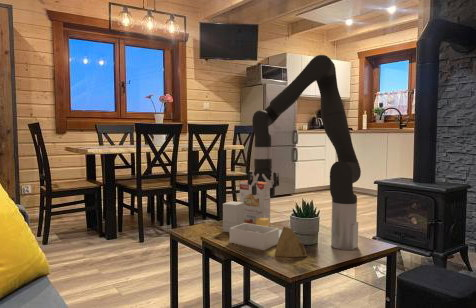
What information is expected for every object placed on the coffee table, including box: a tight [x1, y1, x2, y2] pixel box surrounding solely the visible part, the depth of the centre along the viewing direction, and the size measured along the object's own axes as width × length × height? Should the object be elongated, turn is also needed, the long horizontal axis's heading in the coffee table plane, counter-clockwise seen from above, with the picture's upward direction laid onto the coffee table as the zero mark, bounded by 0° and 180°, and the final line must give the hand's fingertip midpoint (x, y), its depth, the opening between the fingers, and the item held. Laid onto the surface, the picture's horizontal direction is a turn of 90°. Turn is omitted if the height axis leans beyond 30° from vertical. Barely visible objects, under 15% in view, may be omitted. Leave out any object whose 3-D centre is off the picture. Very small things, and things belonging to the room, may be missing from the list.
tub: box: [228, 223, 279, 251], centre depth 148 cm, size 16×11×6 cm
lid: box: [256, 217, 283, 238], centre depth 158 cm, size 20×12×7 cm, turn 55°
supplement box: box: [222, 200, 244, 233], centre depth 167 cm, size 7×7×13 cm
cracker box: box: [239, 179, 271, 225], centre depth 177 cm, size 14×6×21 cm, turn 53°
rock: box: [273, 226, 308, 258], centre depth 132 cm, size 11×9×10 cm
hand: (263, 195), depth 160 cm, fingers open, 8 cm apart
